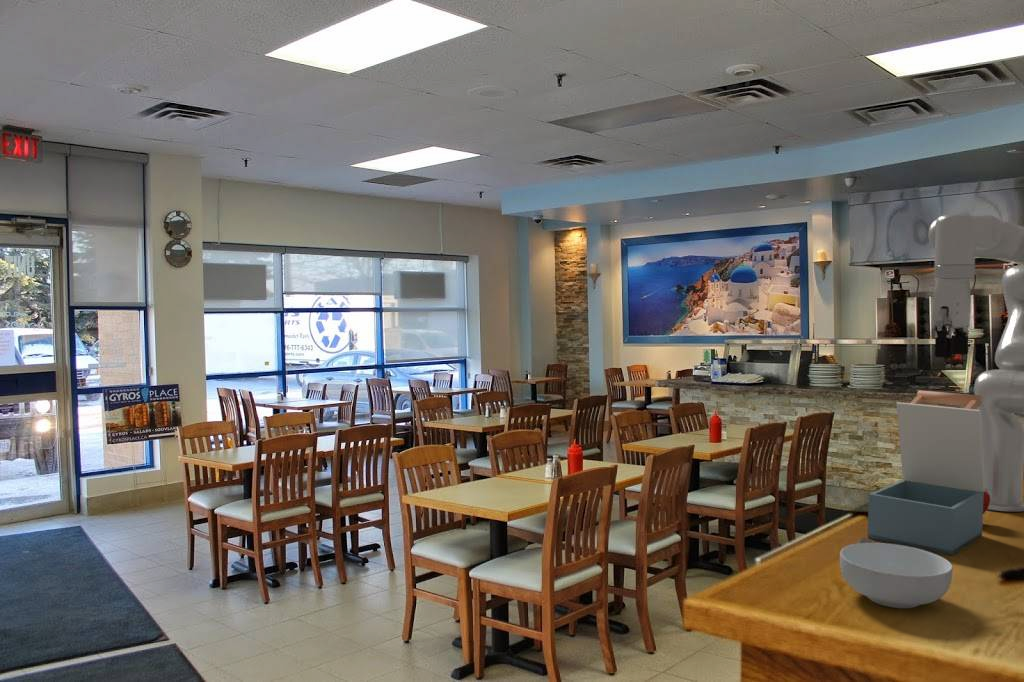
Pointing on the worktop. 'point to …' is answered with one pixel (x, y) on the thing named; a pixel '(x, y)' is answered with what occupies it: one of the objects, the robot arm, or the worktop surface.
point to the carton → (925, 516)
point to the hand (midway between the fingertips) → (951, 355)
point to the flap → (942, 440)
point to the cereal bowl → (895, 573)
